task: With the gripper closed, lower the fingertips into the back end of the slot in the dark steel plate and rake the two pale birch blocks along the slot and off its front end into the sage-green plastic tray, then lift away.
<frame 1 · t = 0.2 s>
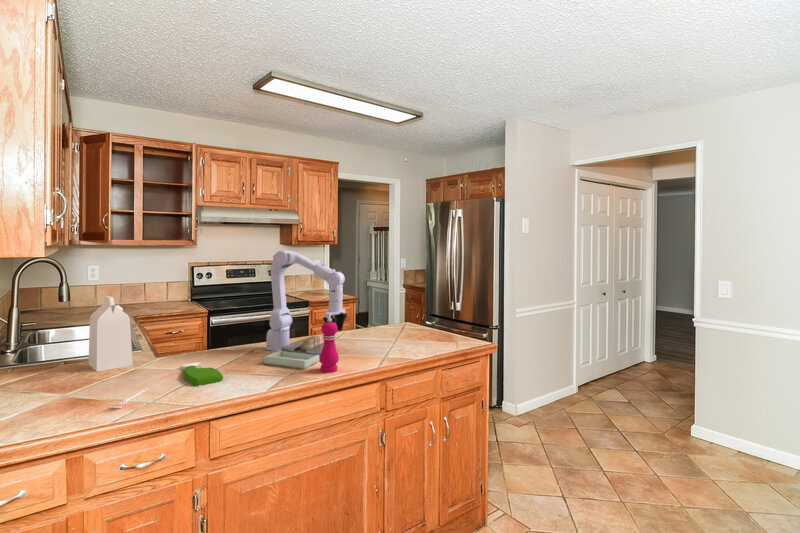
hand: (335, 332, 187), 10 cm above the counter, tool pointing down, fingers open, 7 cm apart
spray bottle: (198, 376, 157), on the counter
birch block front: (307, 348, 185), point 3 cm above the counter, touching slotted plate
milk: (110, 365, 166), on the counter
pepper mill: (328, 370, 166), on the counter
slotted plate: (309, 354, 187), on the counter
birch block rear: (313, 346, 190), point 3 cm above the counter, touching slotted plate
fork: (131, 400, 133), on the counter
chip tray: (292, 362, 174), on the counter
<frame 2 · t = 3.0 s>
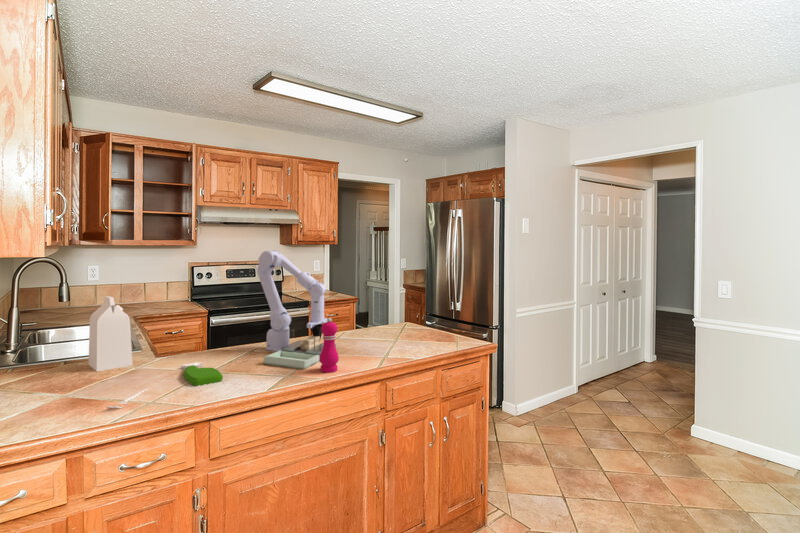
hand: (317, 341, 193), 4 cm above the counter, tool pointing down, fingers closed
birch block rear: (313, 346, 190), point 3 cm above the counter, touching gripper
everything else where it was.
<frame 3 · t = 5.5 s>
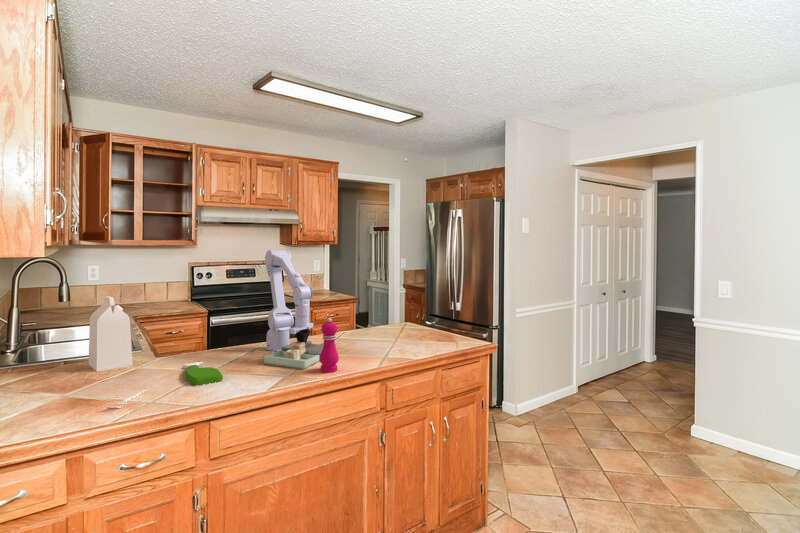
hand: (302, 347, 181), 4 cm above the counter, tool pointing down, fingers closed
birch block front: (295, 353, 176), point 3 cm above the counter, tilted 98°, touching birch block rear
birch block rear: (298, 353, 178), point 3 cm above the counter, tilted 8°, touching birch block front, gripper
everything else where it was.
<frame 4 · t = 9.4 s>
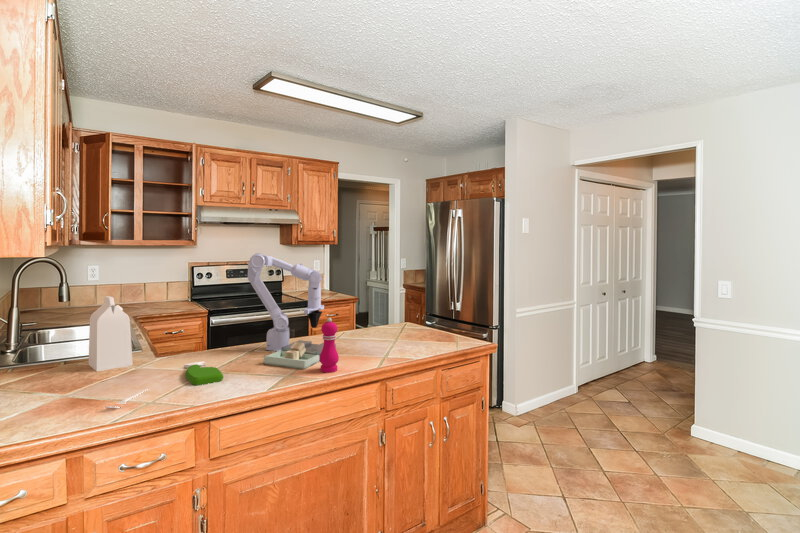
hand: (314, 327, 198), 9 cm above the counter, tool pointing down, fingers closed
birch block front: (294, 355, 176), point 3 cm above the counter, tilted 90°, touching birch block rear, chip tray
birch block rear: (299, 353, 179), point 3 cm above the counter, tilted 22°, touching birch block front, slotted plate
everything else where it was.
at the end: birch block front inside the target area on the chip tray (2.1 cm from its centre), point 2.6 cm above the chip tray's base; birch block rear inside the target area on the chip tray (5.2 cm from its centre), point 2.5 cm above the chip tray's base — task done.
